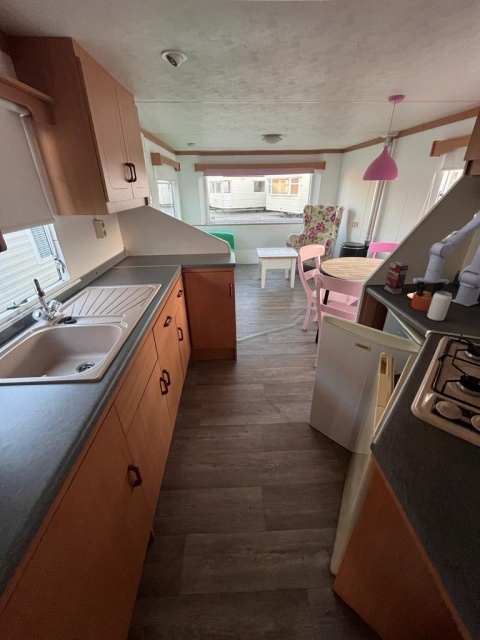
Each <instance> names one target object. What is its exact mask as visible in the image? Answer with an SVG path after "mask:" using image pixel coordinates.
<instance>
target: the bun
mask: <svg viewBox="0 0 480 640" xmlns="http://www.w3.org/2000/svg"><path fill="white" fill-rule="evenodd" d="M430 293H431V292H430ZM430 293H429V291H424V293H423V294H422V297H423V298H430V299H432V297H431V294H430Z"/></svg>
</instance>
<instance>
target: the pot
mask: <svg viewBox="0 0 480 640" xmlns="http://www.w3.org/2000/svg"><path fill="white" fill-rule="evenodd" d="M424 292H425V291H424ZM424 292H423V293H424ZM428 292H429V291H428ZM413 293H414V295H413V298H412V299H411V302H410V307H411V308H412V309H414V310H417V311H420V312H424V313H425V312H426V313H428V311H429V308H430V305H431V302H432V299H430V298H423V297H420V296H418V291H414V292H413ZM429 293H430V294H431V292H429Z"/></svg>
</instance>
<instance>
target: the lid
mask: <svg viewBox="0 0 480 640" xmlns="http://www.w3.org/2000/svg"><path fill="white" fill-rule="evenodd" d="M423 292H425V290H424V291H423ZM414 293H415V292H410V293H408V294H407V298H409V299H411V300H412V298H413V295H414Z"/></svg>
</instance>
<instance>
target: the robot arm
mask: <svg viewBox="0 0 480 640" xmlns="http://www.w3.org/2000/svg"><path fill="white" fill-rule="evenodd" d="M478 229H480V210H478V211H477V212H476V213H475V214H474V216H473V219H471V220H470V221H469V222H468V223H467V224H466V225H464V226H463V227H462V228H461V229H460V230H454V231H452V232H451V233H450V234H448V235H447V236H446V237H445V238H443V239H442V240H441V241H440V242H436V243H434V244H432V245H431V247H430V248H429V249H428V253H429V257H428V258H429V261H428V264H427V268H426V271H425V274H424V277H414V278H413V280H412V283H413V284H415V285H416V288H417V292H418V296H420V297H422V294H423V291H424V292H425V289H426V287H427V285H426V284H432V289H431V292H430V293H431V297H432V299H433V296H434V294H435V293H436V291H442V289H444V288H445V285H449V283H450V280H449V279H448V278H441V275H442V272H443V269H444V266H445V263H446V260H447V258H448V257H450V256H451V255H452V253H453V251H454V250H455V248H457V247H458V246H459V245H461V244H462V243H463V242H465V240H466V237H467V236H469V235H470V234H472V233H473V232H475V231H476V230H478ZM458 282H459V288H458V291H457V293H456V296H455V298H453V299H451V302H453V303H456V304H459V305H463V306H465V307H470V306H474V305H476V304H479V301H478V298H479V296H480V244H479V245H478V248H477V250H476V253H475V255H474V256H473V259H472V261H471V264H470V265H468V266H466V267H463V270H462V271H461V273H460V274H459V275H458Z"/></svg>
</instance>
